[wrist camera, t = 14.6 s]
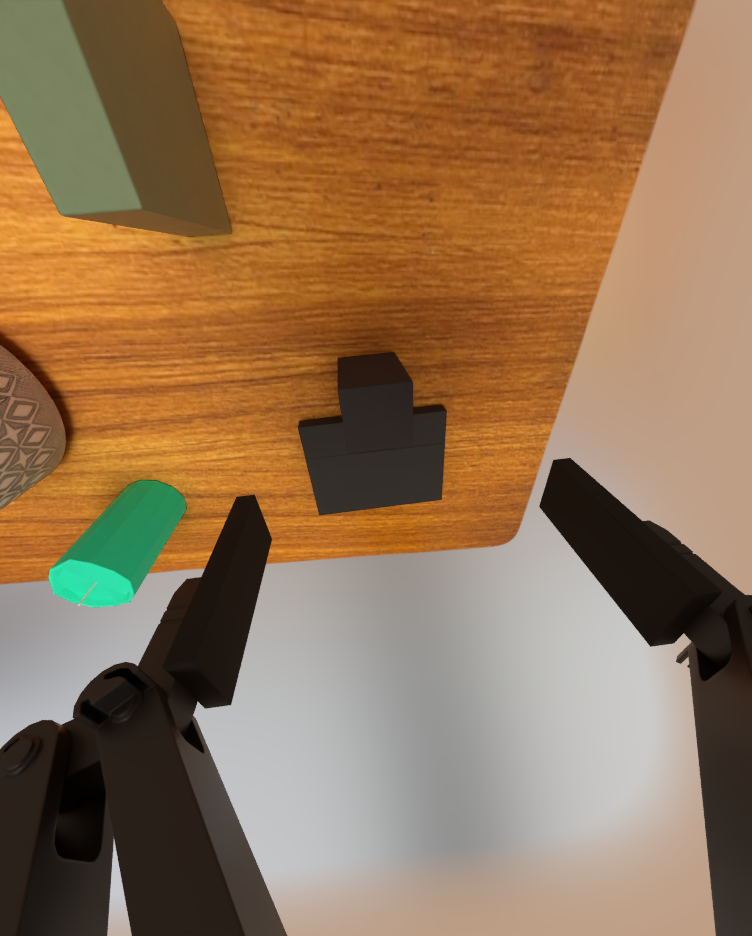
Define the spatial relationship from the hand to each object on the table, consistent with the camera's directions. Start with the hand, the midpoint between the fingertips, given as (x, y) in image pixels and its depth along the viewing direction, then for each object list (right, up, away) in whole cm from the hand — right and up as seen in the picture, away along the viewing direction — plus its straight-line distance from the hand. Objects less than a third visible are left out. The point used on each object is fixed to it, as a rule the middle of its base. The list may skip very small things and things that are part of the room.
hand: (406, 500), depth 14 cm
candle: (-25, -2, +19) cm, 32 cm away
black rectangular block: (-2, +8, +15) cm, 17 cm away
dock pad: (-1, +2, +19) cm, 19 cm away
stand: (-13, +21, +5) cm, 26 cm away
